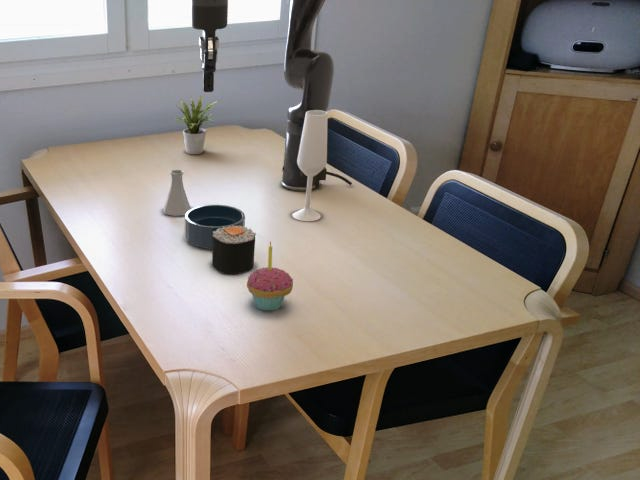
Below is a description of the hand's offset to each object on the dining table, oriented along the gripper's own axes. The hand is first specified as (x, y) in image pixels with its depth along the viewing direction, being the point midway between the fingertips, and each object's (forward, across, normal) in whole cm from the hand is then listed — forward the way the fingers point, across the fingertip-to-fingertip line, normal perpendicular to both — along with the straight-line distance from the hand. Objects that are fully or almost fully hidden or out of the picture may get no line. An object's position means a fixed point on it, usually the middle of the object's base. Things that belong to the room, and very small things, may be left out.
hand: (208, 91), depth 148 cm
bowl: (+29, -13, -1) cm, 32 cm away
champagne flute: (+29, -1, -24) cm, 38 cm away
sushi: (+29, -27, -4) cm, 40 cm away
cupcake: (+29, -44, -9) cm, 54 cm away
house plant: (+29, +51, 0) cm, 59 cm away
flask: (+29, +4, +7) cm, 30 cm away
